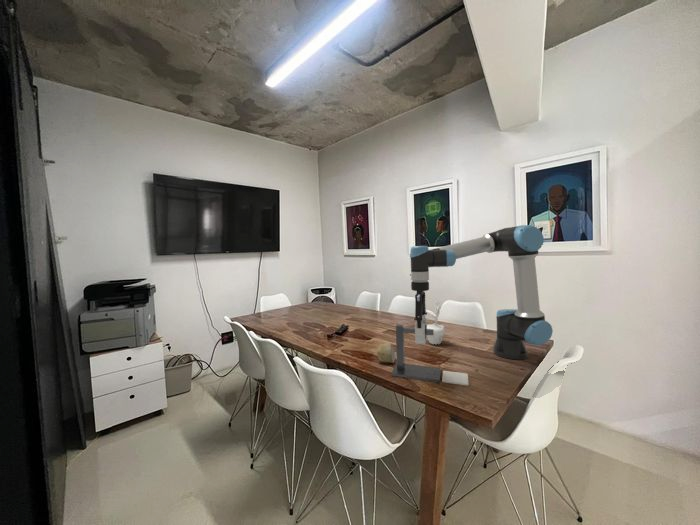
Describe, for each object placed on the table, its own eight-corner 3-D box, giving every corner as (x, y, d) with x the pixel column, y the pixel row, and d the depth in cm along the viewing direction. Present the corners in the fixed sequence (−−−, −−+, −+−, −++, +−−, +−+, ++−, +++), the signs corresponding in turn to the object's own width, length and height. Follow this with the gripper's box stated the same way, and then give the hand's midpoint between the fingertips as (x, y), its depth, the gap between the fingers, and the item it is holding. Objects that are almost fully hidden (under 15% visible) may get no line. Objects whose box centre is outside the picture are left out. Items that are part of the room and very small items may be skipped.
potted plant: (447, 341, 162) (446, 299, 161) (442, 347, 152) (441, 303, 151) (426, 338, 169) (425, 298, 168) (420, 344, 159) (419, 301, 158)
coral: (398, 352, 127) (379, 342, 130) (390, 370, 130) (371, 360, 133) (402, 344, 136) (384, 335, 139) (394, 361, 139) (377, 351, 142)
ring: (427, 338, 123) (426, 318, 123) (424, 344, 115) (424, 323, 114) (418, 337, 124) (417, 317, 124) (415, 343, 116) (414, 322, 116)
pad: (467, 375, 118) (467, 373, 118) (468, 385, 108) (468, 384, 108) (443, 371, 121) (443, 370, 121) (442, 381, 112) (442, 380, 112)
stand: (441, 370, 123) (440, 324, 122) (439, 382, 112) (438, 332, 111) (397, 365, 130) (396, 321, 129) (391, 375, 119) (390, 328, 118)
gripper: (414, 278, 130) (416, 325, 131) (406, 283, 110) (408, 338, 111) (431, 278, 127) (432, 326, 128) (426, 284, 107) (427, 340, 108)
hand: (421, 332), depth 119 cm, fingers closed on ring, 9 cm apart
